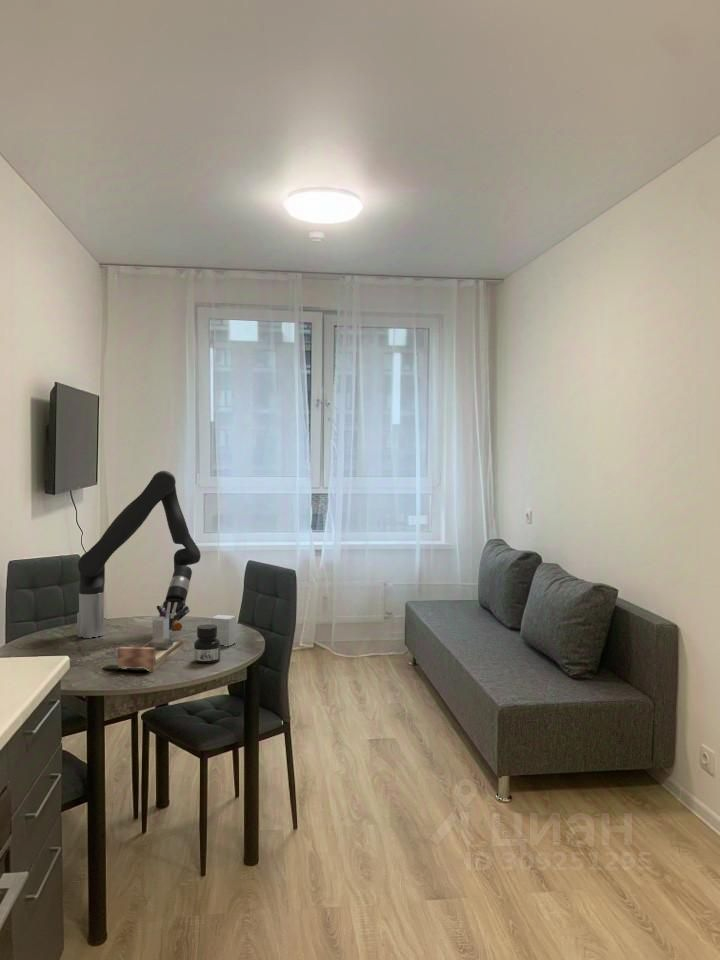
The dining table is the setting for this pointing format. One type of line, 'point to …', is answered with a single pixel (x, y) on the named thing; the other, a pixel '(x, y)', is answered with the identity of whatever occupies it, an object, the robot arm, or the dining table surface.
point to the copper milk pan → (146, 656)
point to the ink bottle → (207, 645)
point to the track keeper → (161, 634)
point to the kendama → (176, 624)
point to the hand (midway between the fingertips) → (167, 629)
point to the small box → (225, 629)
